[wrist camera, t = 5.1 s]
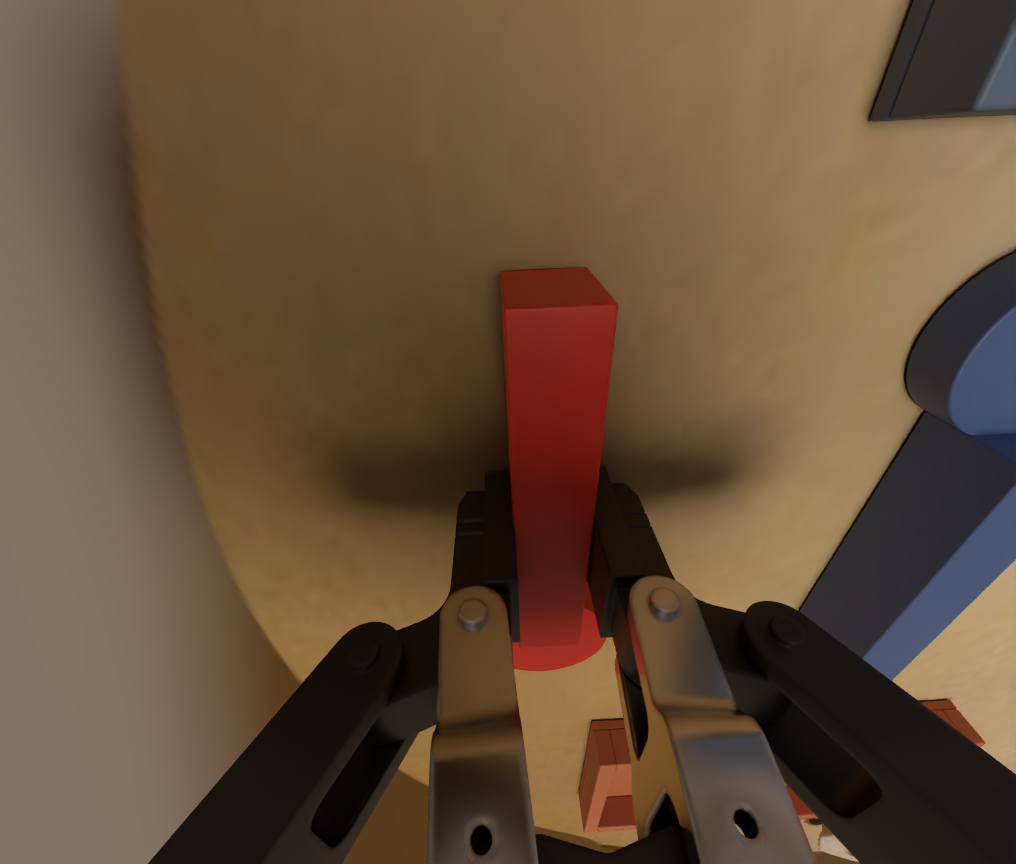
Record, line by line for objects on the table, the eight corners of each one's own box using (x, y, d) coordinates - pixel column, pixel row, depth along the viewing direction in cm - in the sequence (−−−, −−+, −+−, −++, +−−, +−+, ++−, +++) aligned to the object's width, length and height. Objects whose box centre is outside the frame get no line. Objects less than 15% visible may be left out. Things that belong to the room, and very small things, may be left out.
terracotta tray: (578, 794, 27) (583, 832, 26) (591, 720, 21) (600, 766, 19) (851, 777, 28) (873, 815, 26) (950, 699, 21) (987, 743, 19)
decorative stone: (813, 797, 30) (842, 855, 27) (897, 787, 29) (935, 846, 27) (797, 828, 35) (821, 879, 32) (868, 819, 34) (898, 872, 32)
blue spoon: (867, 618, 16) (922, 685, 14) (758, 624, 16) (797, 693, 14) (1184, 226, 8) (1414, 249, 6) (972, 237, 8) (1132, 264, 6)
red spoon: (436, 274, 8) (419, 313, 6) (650, 263, 8) (702, 298, 6) (485, 643, 16) (484, 713, 14) (594, 637, 16) (609, 706, 14)
